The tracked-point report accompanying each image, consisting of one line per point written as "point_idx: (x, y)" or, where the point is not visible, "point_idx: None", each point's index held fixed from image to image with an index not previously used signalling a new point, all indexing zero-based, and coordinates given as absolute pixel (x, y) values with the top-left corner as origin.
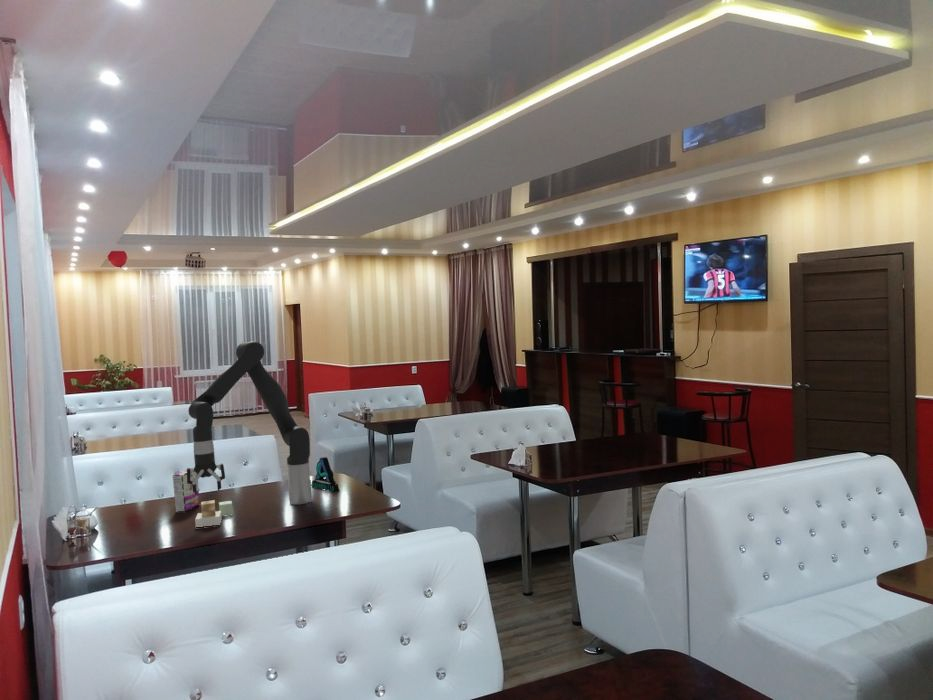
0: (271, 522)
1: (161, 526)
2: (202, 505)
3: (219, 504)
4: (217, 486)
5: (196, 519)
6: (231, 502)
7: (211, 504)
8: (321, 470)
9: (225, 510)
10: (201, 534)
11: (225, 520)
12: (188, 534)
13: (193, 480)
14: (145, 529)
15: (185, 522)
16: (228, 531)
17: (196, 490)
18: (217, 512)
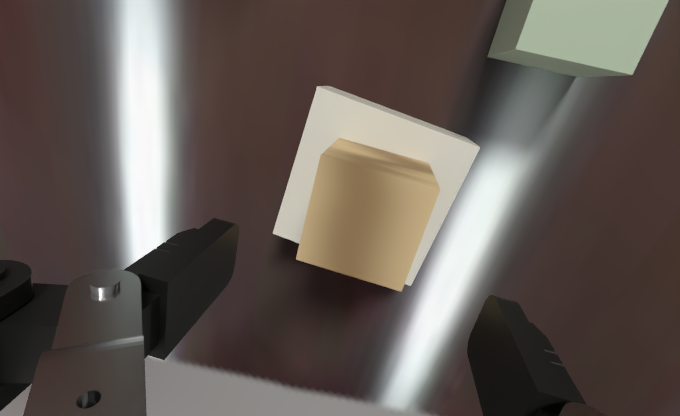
0: (631, 402)
1: (121, 4)
2: (307, 259)
3: (528, 19)
4: (488, 358)
5: (280, 234)
6: (650, 29)
7: (376, 278)
8: None
9: (543, 63)
10: (291, 328)
11: (474, 178)
12: (240, 285)
13: (72, 329)
14: (37, 3)
15: (260, 21)
16: (402, 376)
17: (210, 302)
18: (439, 175)
